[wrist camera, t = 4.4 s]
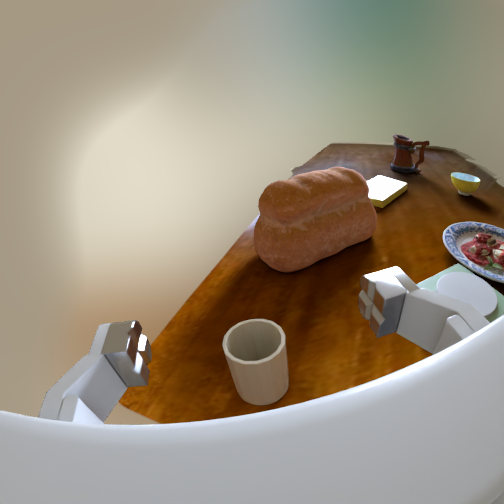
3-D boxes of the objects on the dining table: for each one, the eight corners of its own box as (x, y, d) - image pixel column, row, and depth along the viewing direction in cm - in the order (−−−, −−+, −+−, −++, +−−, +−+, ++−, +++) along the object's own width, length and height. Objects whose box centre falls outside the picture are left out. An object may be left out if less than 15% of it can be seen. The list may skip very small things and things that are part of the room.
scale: (508, 315, 29) (515, 300, 28) (469, 352, 27) (477, 336, 26) (455, 274, 41) (458, 260, 40) (410, 298, 39) (414, 282, 38)
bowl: (450, 186, 82) (451, 170, 79) (477, 192, 75) (479, 176, 72) (448, 194, 75) (450, 177, 72) (478, 202, 68) (481, 184, 65)
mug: (432, 172, 98) (433, 138, 91) (423, 177, 92) (424, 140, 85) (396, 165, 111) (396, 133, 104) (385, 169, 106) (385, 134, 98)
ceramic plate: (461, 220, 58) (463, 210, 57) (540, 256, 38) (544, 245, 37) (422, 257, 48) (424, 243, 47) (529, 312, 28) (535, 298, 27)
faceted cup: (296, 394, 29) (294, 351, 25) (244, 412, 28) (230, 371, 24) (278, 358, 34) (272, 312, 30) (231, 372, 33) (217, 328, 29)
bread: (249, 253, 59) (237, 182, 52) (341, 217, 68) (339, 158, 61) (285, 282, 48) (276, 197, 41) (382, 236, 57) (385, 168, 50)
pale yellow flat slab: (382, 208, 71) (409, 187, 83) (382, 200, 70) (409, 181, 82) (345, 199, 79) (378, 181, 92) (345, 192, 78) (378, 175, 91)
